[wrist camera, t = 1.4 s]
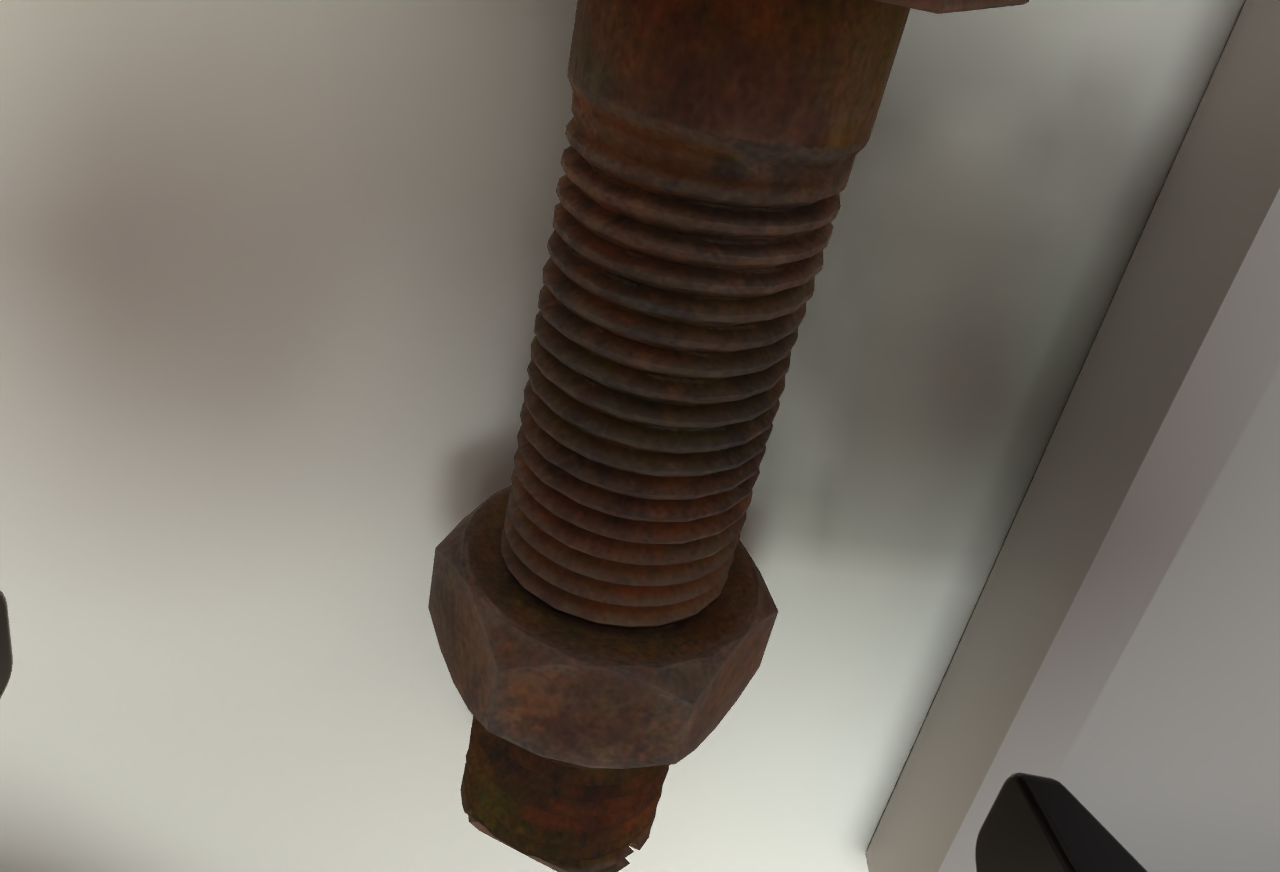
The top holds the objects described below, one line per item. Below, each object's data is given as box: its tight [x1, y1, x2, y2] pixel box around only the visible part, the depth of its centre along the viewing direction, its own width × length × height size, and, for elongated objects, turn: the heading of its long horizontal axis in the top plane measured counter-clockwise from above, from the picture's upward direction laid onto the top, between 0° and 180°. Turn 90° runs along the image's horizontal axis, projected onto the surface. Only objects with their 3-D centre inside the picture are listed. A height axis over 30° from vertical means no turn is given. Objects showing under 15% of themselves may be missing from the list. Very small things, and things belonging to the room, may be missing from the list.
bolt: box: [428, 0, 1029, 872], centre depth 14 cm, size 6×5×15 cm
